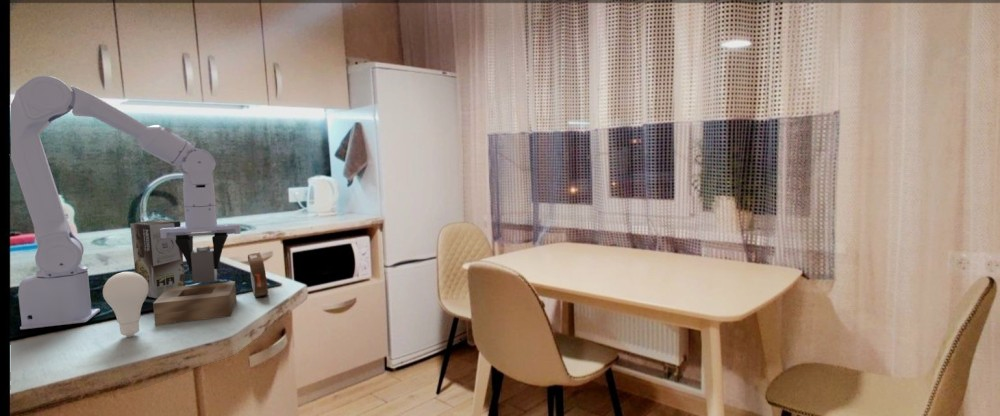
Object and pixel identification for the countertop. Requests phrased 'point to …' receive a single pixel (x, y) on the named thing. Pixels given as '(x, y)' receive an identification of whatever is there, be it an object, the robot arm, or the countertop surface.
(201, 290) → the holder
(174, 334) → the countertop surface
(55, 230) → the robot arm
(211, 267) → the plug
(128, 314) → the lightbulb
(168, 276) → the coffee box
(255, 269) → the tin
